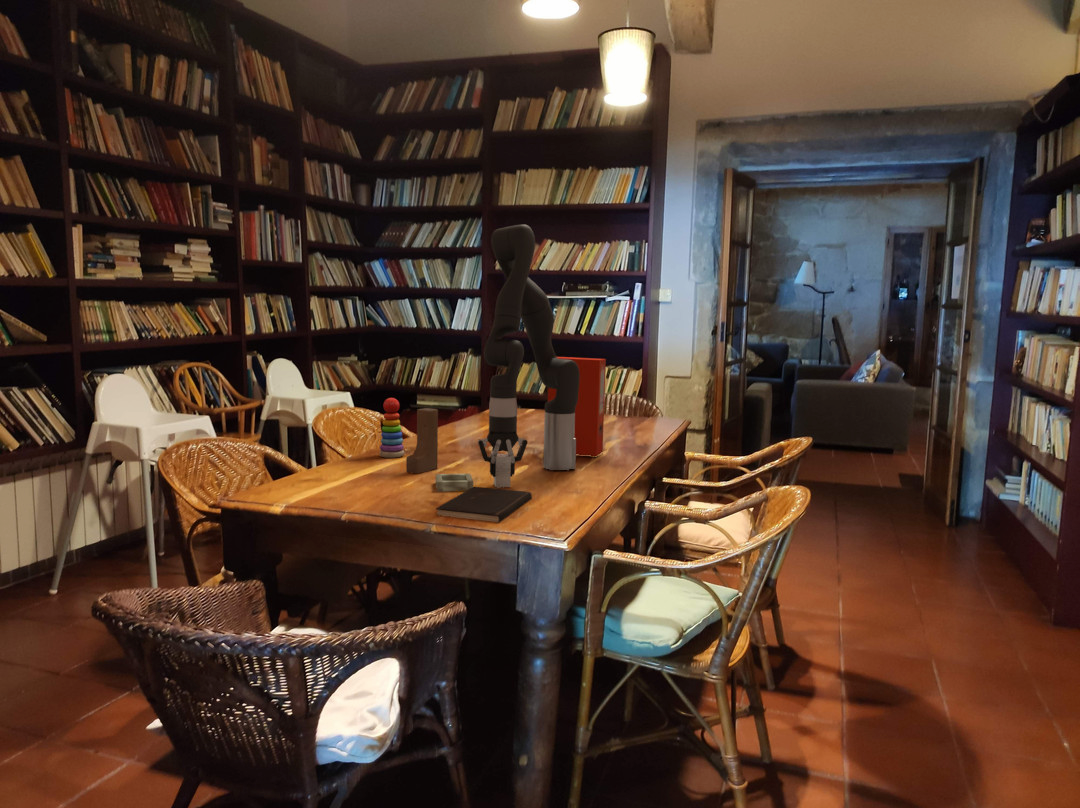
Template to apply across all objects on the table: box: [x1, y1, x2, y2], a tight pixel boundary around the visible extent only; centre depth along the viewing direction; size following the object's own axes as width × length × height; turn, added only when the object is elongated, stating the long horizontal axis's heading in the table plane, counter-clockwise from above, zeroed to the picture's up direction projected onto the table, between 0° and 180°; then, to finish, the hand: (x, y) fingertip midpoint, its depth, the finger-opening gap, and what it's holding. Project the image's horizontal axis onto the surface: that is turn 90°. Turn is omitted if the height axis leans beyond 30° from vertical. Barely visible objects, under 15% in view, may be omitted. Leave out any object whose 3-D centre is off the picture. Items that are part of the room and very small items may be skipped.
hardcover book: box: [435, 486, 533, 523], centre depth 186 cm, size 16×23×2 cm
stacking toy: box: [378, 397, 405, 459], centre depth 243 cm, size 8×8×19 cm
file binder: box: [547, 356, 607, 456], centre depth 253 cm, size 8×17×32 cm, turn 70°
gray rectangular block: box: [493, 453, 511, 489], centre depth 207 cm, size 4×4×8 cm
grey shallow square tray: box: [435, 473, 474, 492], centre depth 205 cm, size 10×10×2 cm
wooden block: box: [405, 407, 439, 474], centre depth 223 cm, size 9×4×18 cm, turn 146°
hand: (502, 475), depth 207 cm, fingers closed on gray rectangular block, 4 cm apart
